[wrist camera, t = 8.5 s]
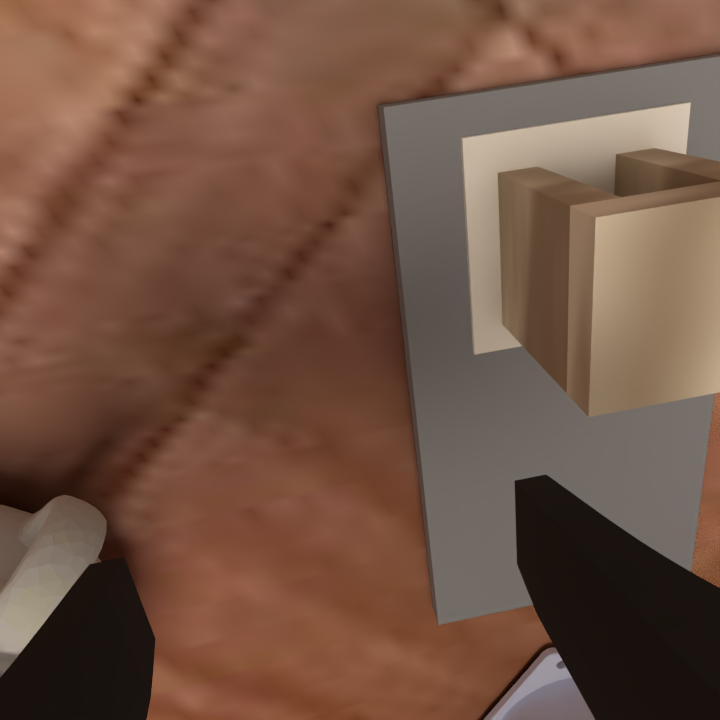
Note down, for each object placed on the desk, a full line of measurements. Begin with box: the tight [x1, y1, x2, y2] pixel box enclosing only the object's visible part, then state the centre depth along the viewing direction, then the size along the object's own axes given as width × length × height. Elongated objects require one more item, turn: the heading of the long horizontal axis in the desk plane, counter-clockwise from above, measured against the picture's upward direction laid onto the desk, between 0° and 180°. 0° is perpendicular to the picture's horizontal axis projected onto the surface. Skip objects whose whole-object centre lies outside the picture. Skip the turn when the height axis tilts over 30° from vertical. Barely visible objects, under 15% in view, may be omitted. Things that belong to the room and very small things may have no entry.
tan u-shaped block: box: [498, 148, 720, 417], centre depth 17 cm, size 5×5×6 cm
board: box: [378, 53, 720, 625], centre depth 22 cm, size 20×11×1 cm, turn 7°
